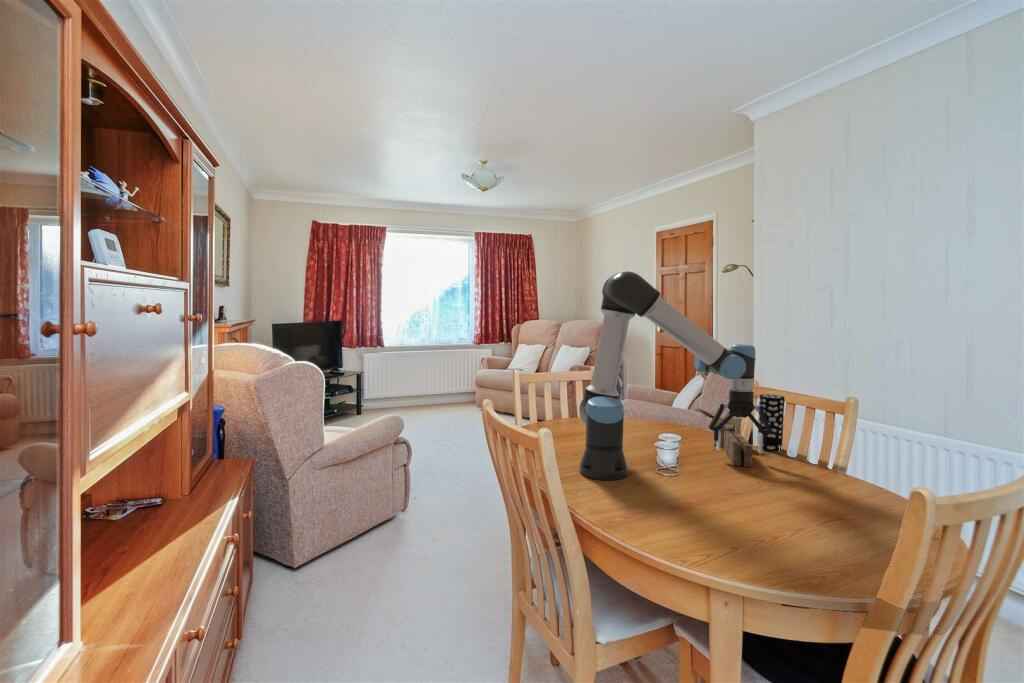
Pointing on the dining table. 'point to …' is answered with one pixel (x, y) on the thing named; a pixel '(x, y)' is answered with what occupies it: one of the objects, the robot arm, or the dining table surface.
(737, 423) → the lock cuff
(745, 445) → the jaw
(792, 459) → the dining table surface
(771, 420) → the white-spotted black cylinder
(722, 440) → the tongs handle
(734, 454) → the jaw
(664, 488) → the dining table surface
